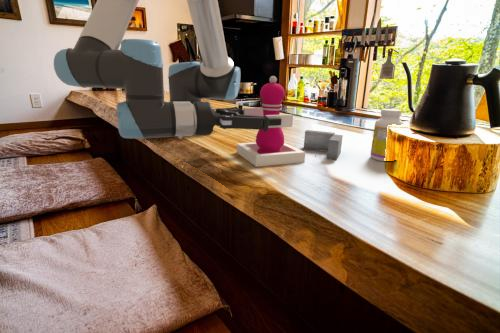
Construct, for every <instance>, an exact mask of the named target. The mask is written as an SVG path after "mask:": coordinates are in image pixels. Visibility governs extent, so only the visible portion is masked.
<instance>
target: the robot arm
mask: <svg viewBox="0 0 500 333" xmlns="http://www.w3.org/2000/svg"><path fill="white" fill-rule="evenodd" d="M139 2H140V0H96V2H95V4H94V6H93V8H92V10H91V12H90V15H89V17H88V19H87V20H86V23H85V24H84V27H83V29H82V31H81V32H80V35H79V36H78V40H77V41H76V43H75V45H74V47H73V48H72V47H67V48H65V49H64V48H63V49H60V50H59V51H57V52H56V54H55V56H54V58H53V69H54V72H55V74H56V77H58V79H59V80H60V81H61V82H62V83H63V84H65V85H68V86H71V87H79V88H82V89H83V88H85V89H86V88H99V89H100V88H101V89H102V88H104V89H105V88H106V89H120V90H124V92H125V101H124V100H123V101H120V102H117V103H116V117H117V127H118V128H117V129H118V133H119V135H120V137H122V139H142V140H145V139H154V138H155V139H156V138H169V137H170V138H171V137H178V139H180V140H181V139H183V138H184V137H189V136H193V135H194V136H197V137H198V136H211V135H212V133H213V131H214V128H215V126H216V127H219V128H220V129H222V130H227V129H232V130H233V129H236V130H237V129H238V130H258V131H259V130H264V132H267V130H268V128H277V127H281V128H292V127H293V120H294V114H279V115H265V116H263V109H261V108H262V107H244V106H243V104H238V106H233V107H232V106H231V107H222V108H220V107H218V108H213V106H212V104H211V102H210V101H202V100H203V99H204V100H219V101H231V100H232V101H233V100H235V99H236V98H237V97H238V94H239V91H240V85H241V68H240V67H239V66H235V64H234V61H233V59H232V58H231V57H229V56H228V51H227V46H226V41H225V35H224V29H223V23H222V17H221V13H220V12H221V11H220V7H219V1H218V0H186V3H187V8H188V10H189V14H190V18H191V21H192V25H193V29H194V33H195V37H196V41H197V44H198V49H199V51H200V52H199V53H200V56H201V59H202V62H200V61H186V62H176V63H172V64H170V65H169V67H168V76H167V78H168V89H169V92H168V94H169V101H165V88H164V63H163V58H162V48H161V45H160V43H159V42H158V41H155V40H152V39H151V40H150V39H144V38H143V39H141V38H140V39H139V38H128V39H126V38H125V39H124V36H125V34H126V33H127V30H128V27H129V24H130V22H131V21H132V18H133V15H134V13H135V10H136V8H137V5H138V4H139Z"/></svg>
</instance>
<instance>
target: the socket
mask: <svg viewBox="0 0 500 333" xmlns="http://www.w3.org/2000/svg"><path fill="white" fill-rule="evenodd" d="M258 149H260V148H259V147H258V145H257V144H256V141H255V142H253V141H252V142H238V143H236V153H237V154H238V155H240V156H241V157H242V158H244V159H245V160H246V161H247V162H249V163H250V164H252V165H253V166H254V167H256V168H257V167H267V166H278V165H287V164H289V165H290V164H299V163H305V160H306V159H305V158H306V151H305V150H304V151H303V150H301V149H300V148H297V147H294V146H293V145H291V144H288V143H286V142H284V144H283V146H282V147H281V148H280V150H281V151H282V152H279V153H267V154H259V153H257V150H258Z"/></svg>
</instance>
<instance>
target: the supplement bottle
mask: <svg viewBox="0 0 500 333" xmlns="http://www.w3.org/2000/svg"><path fill="white" fill-rule="evenodd" d="M380 110H381V112H380V115H381V117H379V118H378V119H377V120H376V121H375V123H374V128H373V129H374V130H373V134H372V142H371V148H370V149H371V150H370V157H371V159H373V160H375V161H379V162H384V158H385V149H386V137H387V126H388V125H392V124H396V125H401V124H404V122H403V121H402V120H401V116H402V110H401V109H397V108H381V109H380Z"/></svg>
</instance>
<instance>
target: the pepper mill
mask: <svg viewBox="0 0 500 333" xmlns="http://www.w3.org/2000/svg"><path fill="white" fill-rule="evenodd" d="M268 81H269V83H268V82H267V83H266V84H264V85H263V86H262V87H260V88H261V89H260V91H259V97H260V99H261V101H262V103H261V107H260V108H261V109H263V116H265V115H281V114H280V112H281V111H282V110H283V109H282V106H283V104H282V102H283V100H285V97H286V95H285V94H286V91H285V88H284V87H283V86H282V85H281V84H280V83H277V81H278V78H277V77H276V76H275V75H271V76H270V77H269V80H268ZM255 142H256V144H257V145H258V147H259V148H260V149H258V150H257V153H259V154H267V153H279V152H282V151H281V150H280V148H281V147H282V146H283V144H284V143H285V136H284V132H283V129H282V127H277V128H268V130H267V132H264V130H258V131H257V133H256V137H255Z"/></svg>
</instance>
